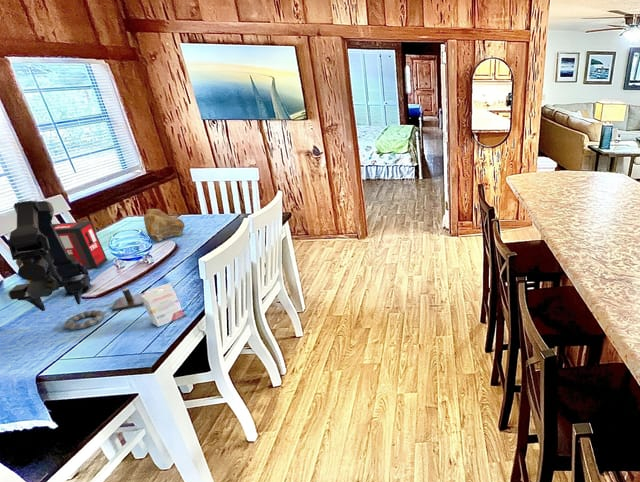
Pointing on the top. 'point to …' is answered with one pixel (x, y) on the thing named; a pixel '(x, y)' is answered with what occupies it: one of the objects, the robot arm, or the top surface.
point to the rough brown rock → (162, 225)
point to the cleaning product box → (81, 243)
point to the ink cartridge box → (162, 305)
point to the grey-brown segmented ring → (77, 317)
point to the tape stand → (128, 300)
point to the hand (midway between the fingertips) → (61, 307)
